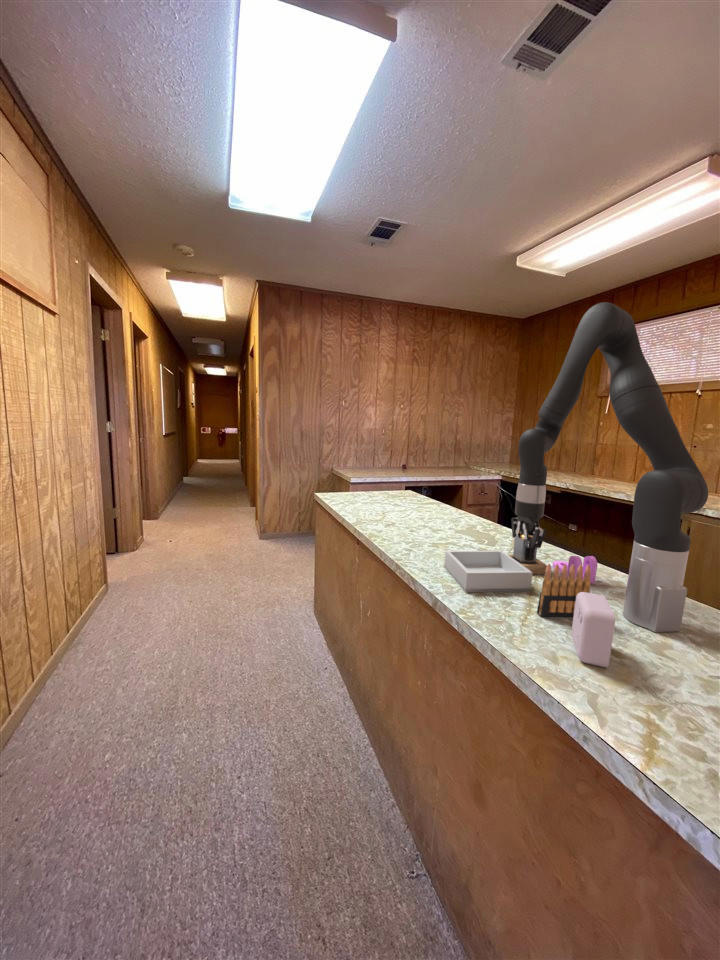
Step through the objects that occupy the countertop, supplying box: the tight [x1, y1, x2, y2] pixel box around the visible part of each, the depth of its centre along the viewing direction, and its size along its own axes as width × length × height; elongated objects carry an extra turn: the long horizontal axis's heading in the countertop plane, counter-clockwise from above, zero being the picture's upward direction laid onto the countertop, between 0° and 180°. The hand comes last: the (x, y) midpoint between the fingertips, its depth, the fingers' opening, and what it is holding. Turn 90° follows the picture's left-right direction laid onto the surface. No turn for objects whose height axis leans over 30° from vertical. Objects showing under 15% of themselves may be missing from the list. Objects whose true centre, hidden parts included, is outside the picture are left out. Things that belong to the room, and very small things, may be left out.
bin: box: [443, 550, 533, 593], centre depth 102 cm, size 16×17×5 cm
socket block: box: [506, 553, 548, 575], centre depth 110 cm, size 9×9×2 cm
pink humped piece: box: [552, 555, 598, 584], centre depth 107 cm, size 13×6×7 cm, turn 2°
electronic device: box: [571, 592, 616, 669], centre depth 70 cm, size 10×5×10 cm, turn 159°
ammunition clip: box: [536, 563, 592, 619], centre depth 83 cm, size 11×2×12 cm, turn 92°
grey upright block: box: [512, 534, 538, 564], centre depth 110 cm, size 4×4×10 cm
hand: (524, 556), depth 110 cm, fingers closed on grey upright block, 4 cm apart
